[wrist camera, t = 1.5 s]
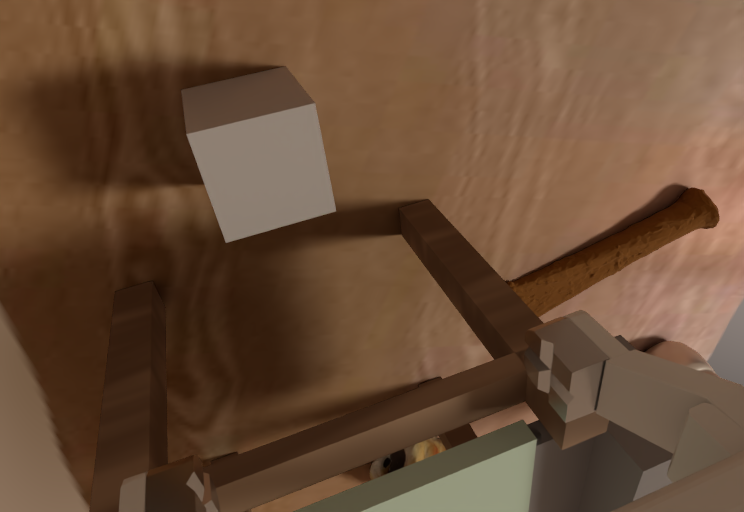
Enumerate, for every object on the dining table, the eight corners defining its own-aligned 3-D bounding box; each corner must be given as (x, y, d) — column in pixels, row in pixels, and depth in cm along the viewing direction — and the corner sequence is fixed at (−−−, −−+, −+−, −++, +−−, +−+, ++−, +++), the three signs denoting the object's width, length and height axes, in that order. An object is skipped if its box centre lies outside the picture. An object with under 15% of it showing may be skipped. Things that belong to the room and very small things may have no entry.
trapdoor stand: (115, 291, 28) (76, 619, 15) (428, 199, 32) (614, 399, 19) (218, 476, 39) (248, 755, 26) (441, 392, 43) (563, 601, 30)
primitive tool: (491, 337, 42) (515, 368, 39) (470, 297, 38) (494, 327, 36) (690, 209, 41) (728, 230, 39) (686, 157, 38) (728, 176, 35)
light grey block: (181, 89, 24) (186, 134, 19) (285, 66, 25) (315, 103, 20) (214, 184, 27) (226, 243, 22) (306, 159, 28) (336, 211, 23)
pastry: (470, 442, 49) (490, 476, 46) (424, 485, 51) (440, 522, 48) (406, 419, 44) (424, 457, 41) (356, 469, 45) (370, 508, 42)
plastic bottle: (658, 377, 54) (861, 568, 38) (611, 383, 51) (809, 591, 36) (689, 330, 51) (925, 517, 35) (641, 333, 48) (873, 537, 32)
